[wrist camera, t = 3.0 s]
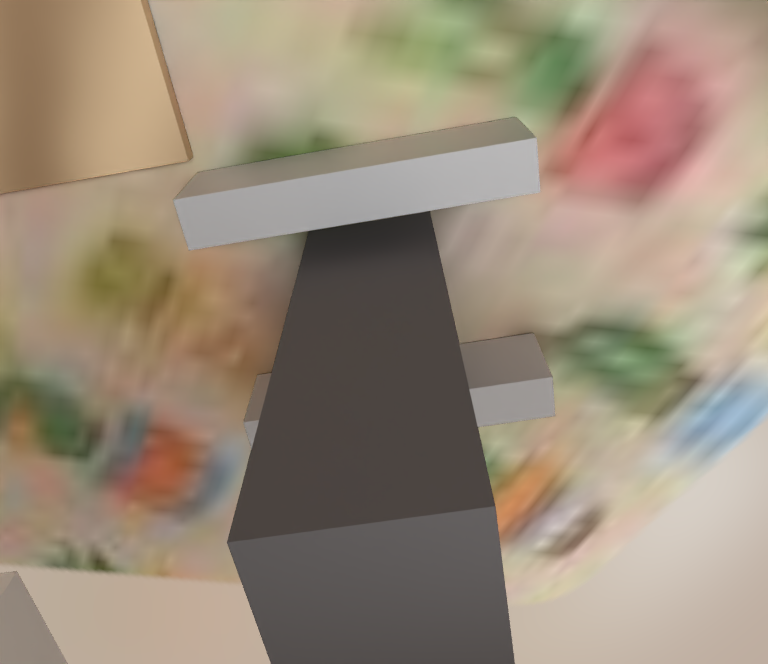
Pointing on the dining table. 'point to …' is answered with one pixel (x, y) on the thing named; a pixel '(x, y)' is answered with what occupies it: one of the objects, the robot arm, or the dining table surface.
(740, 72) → the dining table surface
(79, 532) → the dining table surface
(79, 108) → the pad
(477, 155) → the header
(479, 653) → the dark grey rectangular block
